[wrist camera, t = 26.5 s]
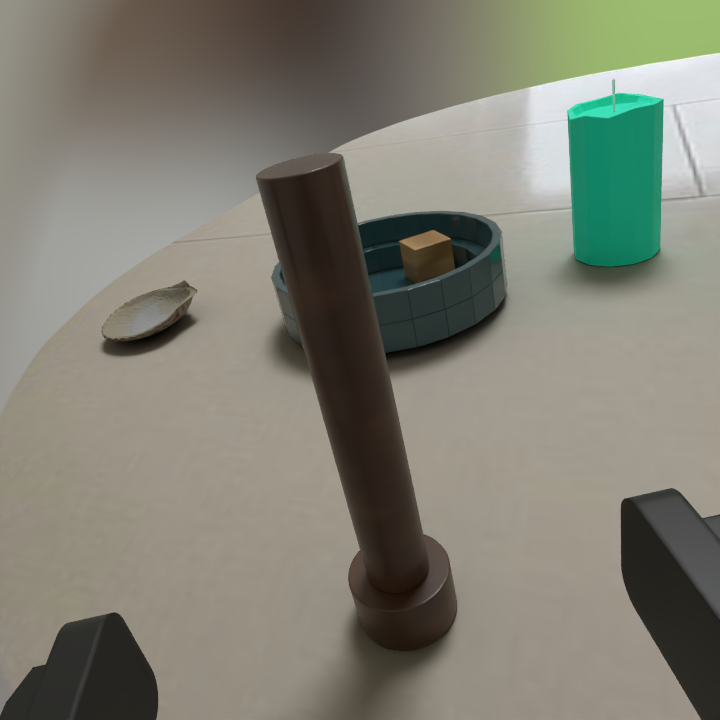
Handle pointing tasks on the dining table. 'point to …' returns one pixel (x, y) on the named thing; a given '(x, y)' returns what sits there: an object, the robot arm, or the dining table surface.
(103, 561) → the dining table surface
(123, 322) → the seashell
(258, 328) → the dining table surface
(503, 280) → the bowl
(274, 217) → the muddler
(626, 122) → the candle
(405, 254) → the block
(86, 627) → the robot arm
